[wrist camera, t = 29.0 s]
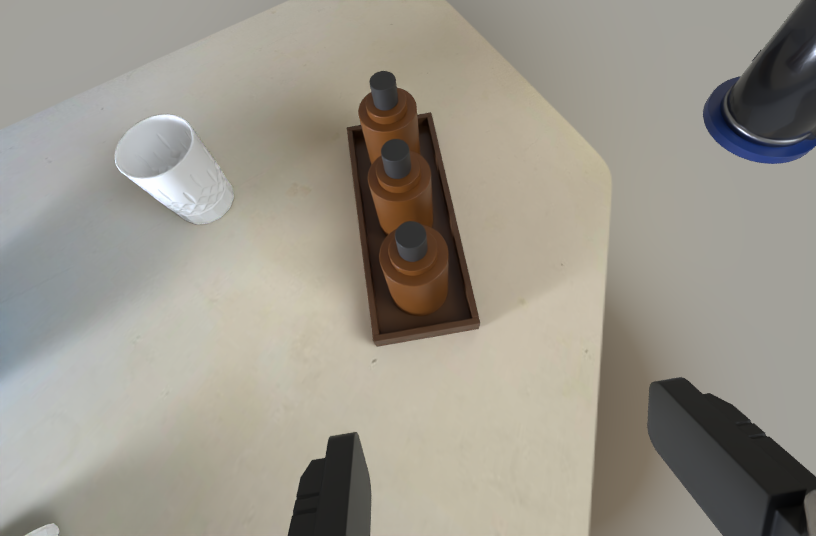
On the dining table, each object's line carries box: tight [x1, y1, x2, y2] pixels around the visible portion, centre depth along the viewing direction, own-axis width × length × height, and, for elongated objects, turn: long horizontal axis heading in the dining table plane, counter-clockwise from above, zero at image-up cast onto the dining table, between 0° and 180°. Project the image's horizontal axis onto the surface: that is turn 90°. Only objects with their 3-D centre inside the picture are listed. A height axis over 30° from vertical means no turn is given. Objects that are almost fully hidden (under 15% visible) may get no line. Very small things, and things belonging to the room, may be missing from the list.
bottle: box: [379, 221, 448, 316], centre depth 38 cm, size 6×6×12 cm
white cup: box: [115, 114, 234, 224], centre depth 46 cm, size 8×8×10 cm
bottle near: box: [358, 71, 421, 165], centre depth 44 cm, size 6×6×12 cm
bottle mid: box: [368, 139, 433, 237], centre depth 41 cm, size 6×6×12 cm
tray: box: [347, 112, 480, 346], centre depth 46 cm, size 26×10×2 cm, turn 9°
